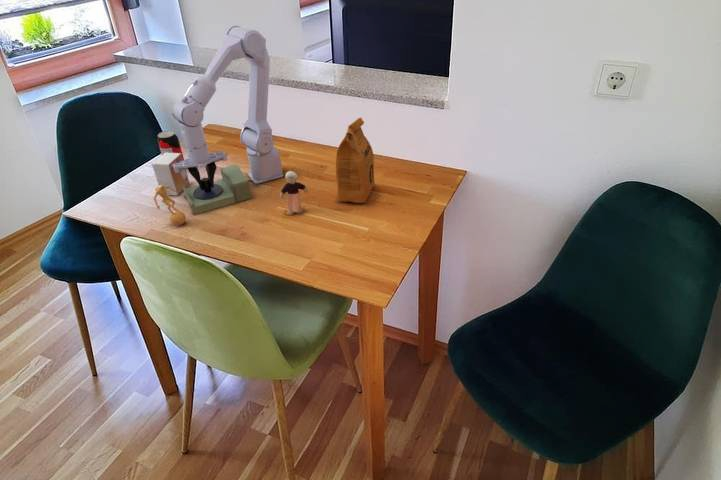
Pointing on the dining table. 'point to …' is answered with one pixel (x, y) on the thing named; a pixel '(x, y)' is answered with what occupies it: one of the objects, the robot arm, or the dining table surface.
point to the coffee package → (354, 165)
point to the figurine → (175, 216)
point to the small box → (170, 173)
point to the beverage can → (169, 143)
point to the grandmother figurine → (293, 193)
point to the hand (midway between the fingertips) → (206, 187)
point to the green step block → (232, 192)
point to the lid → (207, 190)
